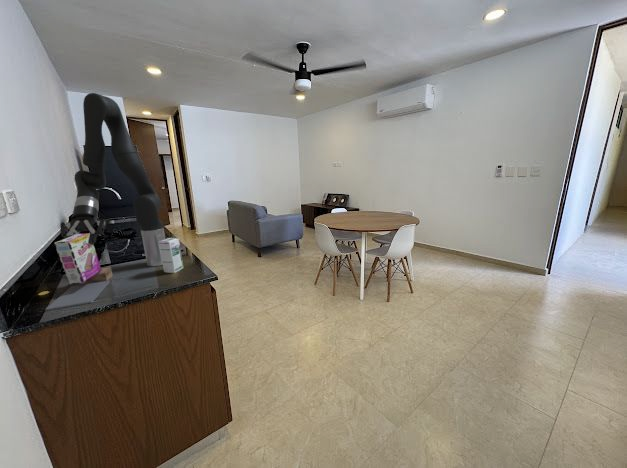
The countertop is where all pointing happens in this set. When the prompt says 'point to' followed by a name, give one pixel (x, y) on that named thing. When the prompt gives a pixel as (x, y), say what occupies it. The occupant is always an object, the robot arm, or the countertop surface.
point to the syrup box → (171, 255)
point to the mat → (78, 295)
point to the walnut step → (100, 276)
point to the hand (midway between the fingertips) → (80, 244)
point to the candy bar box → (78, 258)
